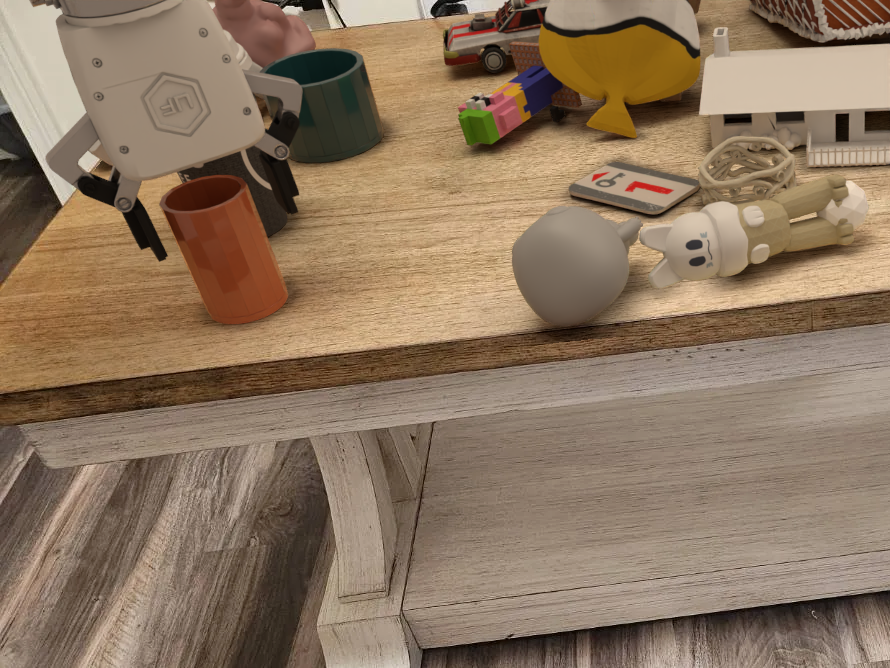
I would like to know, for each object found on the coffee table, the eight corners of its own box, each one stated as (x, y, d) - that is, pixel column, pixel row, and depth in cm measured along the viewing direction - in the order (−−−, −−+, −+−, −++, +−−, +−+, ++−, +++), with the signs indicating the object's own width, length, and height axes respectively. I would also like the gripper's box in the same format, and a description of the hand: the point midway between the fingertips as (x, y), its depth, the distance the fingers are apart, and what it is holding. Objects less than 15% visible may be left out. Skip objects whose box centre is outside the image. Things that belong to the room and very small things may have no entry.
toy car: (447, 55, 122) (429, -19, 116) (609, 32, 123) (599, -43, 118) (448, 81, 116) (429, 4, 111) (618, 56, 118) (608, -21, 112)
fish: (562, -135, 96) (731, -91, 99) (553, -56, 108) (703, -19, 111) (530, 86, 95) (702, 124, 98) (525, 140, 107) (677, 173, 110)
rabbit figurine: (886, 240, 83) (663, 302, 79) (831, 226, 92) (626, 282, 88) (877, 166, 81) (647, 227, 77) (821, 159, 90) (610, 213, 85)
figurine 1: (322, 94, 116) (282, -30, 108) (214, 107, 115) (166, -16, 107) (332, 64, 122) (296, -56, 114) (231, 76, 122) (187, -43, 114)
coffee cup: (233, 196, 100) (164, 22, 90) (326, 203, 97) (266, 24, 87) (168, 249, 93) (85, 67, 83) (266, 257, 91) (193, 71, 81)
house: (695, 186, 94) (686, 100, 89) (720, 79, 111) (714, 1, 106) (995, 177, 91) (1004, 87, 86) (974, 68, 108) (980, -13, 103)
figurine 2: (566, 45, 104) (480, 100, 97) (582, 104, 108) (500, 162, 101) (513, 41, 107) (426, 95, 101) (530, 99, 111) (448, 154, 105)
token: (654, 212, 90) (561, 187, 95) (654, 217, 90) (561, 192, 95) (705, 180, 94) (614, 157, 99) (705, 185, 95) (614, 162, 99)
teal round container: (302, 172, 103) (276, 96, 98) (270, 140, 109) (244, 67, 104) (399, 141, 106) (378, 67, 101) (362, 112, 112) (341, 40, 107)
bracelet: (686, 146, 92) (708, 185, 86) (777, 124, 93) (806, 162, 87) (693, 191, 95) (715, 232, 89) (782, 170, 96) (810, 209, 90)
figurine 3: (627, 164, 82) (553, 195, 72) (688, 249, 84) (624, 291, 74) (556, 227, 87) (477, 264, 77) (615, 307, 88) (545, 354, 78)
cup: (221, 333, 83) (171, 222, 77) (199, 301, 86) (150, 192, 80) (299, 305, 85) (256, 194, 79) (274, 274, 89) (232, 167, 83)
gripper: (-20, 35, 64) (116, 293, 76) (268, -42, 71) (353, 208, 82) (-38, 5, 69) (94, 253, 81) (234, -64, 75) (319, 175, 87)
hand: (225, 230), depth 82 cm, fingers open, 9 cm apart
